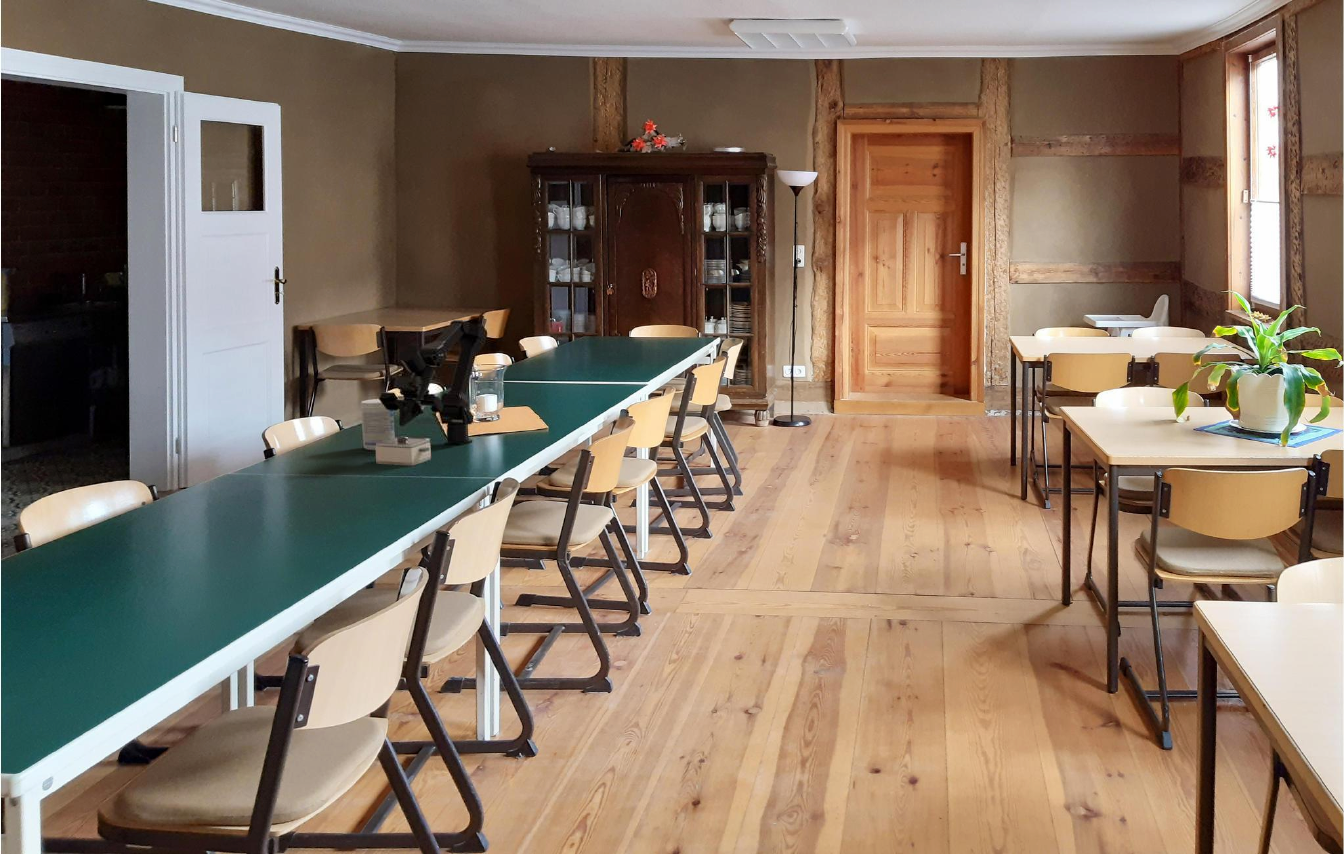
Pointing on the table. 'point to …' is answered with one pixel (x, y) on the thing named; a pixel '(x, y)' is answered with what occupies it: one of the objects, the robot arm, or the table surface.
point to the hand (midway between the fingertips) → (401, 425)
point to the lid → (403, 442)
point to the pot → (403, 454)
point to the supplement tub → (376, 423)
